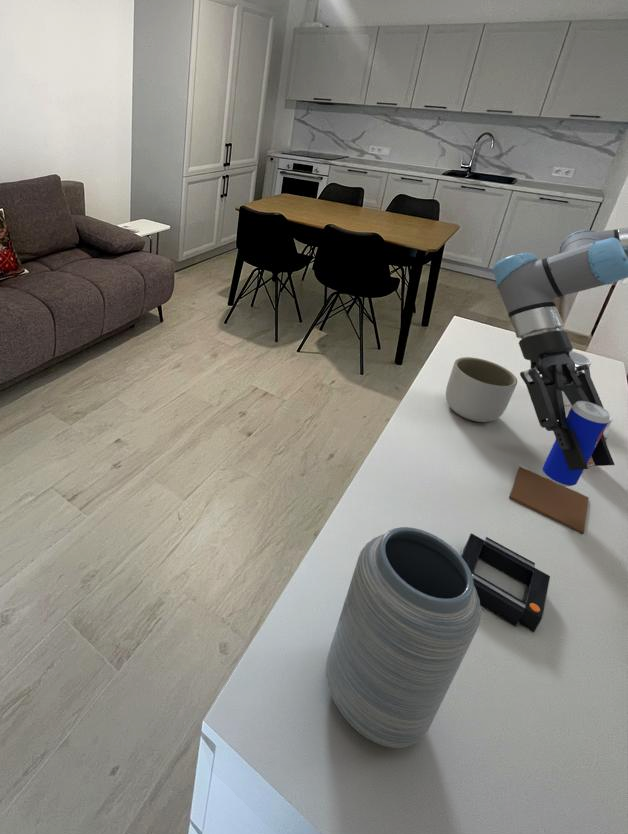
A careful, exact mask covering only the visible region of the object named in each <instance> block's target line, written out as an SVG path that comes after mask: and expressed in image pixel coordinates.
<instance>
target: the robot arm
mask: <svg viewBox="0 0 628 834" xmlns="http://www.w3.org/2000/svg"><path fill="white" fill-rule="evenodd" d="M492 271H493V275H494V278H495V282H496V288H497V289H498V292H499V294H500V297H501V299H502V302H503V304H504V307H505V309H506V312H507V316H508V318H509V320H510V323H511V325H512V328H513V330H514V331H513V332H514V333H515V336H516V338H517V339H520V340H519V341H518V346H519V349H520V351H521V354H522V357H523V359H524V360H527V361H529V362H530V367H529V369H527V370H524V371H523V370H522V371H521V372H520V373H519V376H520V378H521V379H522V381H523V382H524V384H525V385H526V389H527V391H528V394H529V397H530V400H531V403H532V406H533V409H534V411H535V415H536V417H537V420H538V424H539V426H540V427H541V428H543V429H545V430H546V431H547V432H553V434H554V436H555V440H557V442H558V445H559V447H560V449H561V450H562V451H563V454H564V457H565V459H566V462H567V465H568V468H569V470H583V471H584V470H589V466H587V464H586V461H585V459H584V456H583V453H582V451H581V448H580V446H579V443H578V440H577V438H576V435H575V432H574V430H573V429H567V428H568V424H567V419H566V418H567V415H566V408H565V407H566V406H565V405H564V402H563V396H562V391H563V392H564V393H565V395H566V397H567V398H568V400H569V402H570V403H571V404H570V405H571V407H572V406H573V405H574V404H575V403H576V402H577V401H586V402H590V403H593V404H596V405H598V406H600V407H602V408H604V409H605V407H604V405H603V402H602V400H601V398H600V396H599V393H598V391H597V389H596V386H595V384H594V382H593V380H592V377H591V370H590V367H589V366H588V365H586V364H585V365H581V366H580V365H577V364H575V363H574V361H573V360H572V359H571V357H570V356H569V353H570V352H571V351H574V347H573V345H572V342H571V340H570V337H569V335H568V332H566V331H564V328H565V324H564V321H563V319H562V317H561V314H560V313H559V310H558V308H557V305H556V303H555V300H554V299H557V298H560V297H564V296H568V295H571V294H576V293H580V292H583V291H586V290H590V289H594V288H595V289H596V288H599V287H601V286H607V285H609V286H610V285H612V284H614V283H616V282H619V281H622V280H625V279H628V227H623V228H617V229H607V230H600V231H595V230H590V229H582V230H581V229H580V230H577V231H575V232H572V233H571V234H569V235H568V236H566V238H565V239H564V240H563V242H562V243H561V244H560V247H559V251H558V254H555V255H552V256H548V257H546V258H540V259H539V258H537V256H536V254H534V253H533V252H522V253H518V254H512V255H509V256H507V257H504V258H502V259H500V260H499V261H497V262H496V263H494V265H493V267H492ZM591 456H592V459H593V461H594V463H593V465H594V466H595V467H606V466H615V465H616V464H615V462H614V459H613V457H612V454H611V452H610V449H609V446H608V444H607V439H605V436H604V435H603V434H602V436H601V438H600V440H599V442H598V444H597V446H596V448H595V449H594V451H593V453H592V455H591Z"/></svg>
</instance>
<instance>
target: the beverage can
mask: <svg viewBox="0 0 628 834" xmlns="http://www.w3.org/2000/svg"><path fill="white" fill-rule="evenodd" d="M610 415H611V414H610V412H609V411H608V410H607V409H605V407H604V408H602V407H600V406H598V405H596V404H593V403H590V402H586V401H577V402H576V403H575V404H574V405H573V406H572V405H571V407H570V409H569V411H568V413H567V415H566V419H567V424H568V428H567V429H573V430H574V432H575V435H576V438H577V440H578V443H579V446H580V448H581V451H582V453H583V456H584V459H585V461H586V464H587V463H588V461H589V459H590V457H591V455H592V453H593V451H594V449H595V448H596V446H597V444H598V442H599V440H600V438H601V436H602V434H603V432H604V430H605V429H606V427H607V425H608V423H609V419H610ZM542 472H543V474H544V476H545V478H547V479H549V480H551V481H553V482H555V483H557V484H559V485H562V486H565V487H573V486H576V485H577V484H578V482H579V480H580V478H581V476H582V475H583V472H584V470H569V468H568V465H567V462H566V459H565V457H564V454H563V451H562V450H561V449H560V447H559V445H558V442H557V440H556V439H555V440H554V443H553V445H552V446H551V449H550V451H549V453H548V455H547V457H546V459H545V461H544V463H543V465H542Z"/></svg>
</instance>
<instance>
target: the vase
mask: <svg viewBox="0 0 628 834" xmlns="http://www.w3.org/2000/svg"><path fill="white" fill-rule="evenodd" d="M481 616H482V609H481V605H480V600H479V597H478V594H477V591H476V588H475V586H474V583H473V577H472V574H471V571H470V569H469V567H468V565H467V564H466V562H465V561H464V559H463V558H462V557H461V554H460V553H459V552H458V551H457V550H456V549H455V548H453V547H452V545H450V544H449V543H448V542H446V541H445V540H443V539H442V538H440V537H438V536H437V535H434V534H433V533H431V532H428V531H426V530H423V529H420V528H415V527H408V526H400V527H395V528H392V529H390V530H388V531H387V532H386V533H383V534H381V535H378V536H376V537H373V538H372V539H370V540H369V541H368V542H367V543H366V544H365V545H364V547H363V548H362V549H361V550H360V552H359V555H358V558H357V561H356V565H355V567H354V570H353V574H352V576H351V579H350V583H349V586H348V590H347V593H346V596H345V599H344V602H343V606H342V608H341V612H340V615H339V618H338V621H337V625H336V629H335V631H334V634H333V638H332V641H331V644H330V647H329V650H328V653H327V657H326V664H325V676H326V681H327V686H328V689H329V692H330V695H331V698H332V700H333V702H334V704H335V706H336V707H337V709H338V711H339V712H340V714H341V715H342V717H343V718H344V719H345V720H346V722H347V723H348V724H349V725H350V726H351V727H352V728H353V729H354V730H356V732H357V733H358V734H359V735H361V736H363V737H364V738H365V739H367V740H369V741H371V742H373V743H375V744H377V745H380V746H383V747H386V748H394V749H402V748H407V747H411V746H414V745H416V744H417V743H418V742H420V741H421V740H423V738H424V737H425V736H426V734H427V733H428V732H429V730H430V728H431V726H432V724H433V721H434V720H435V718H436V715H437V713H438V711H439V709H440V708H441V705H442V703H443V701H444V700H445V697H446V695H447V693H448V690H449V689H450V686H451V685H452V683H453V680H454V679H455V676H456V674H457V672H458V670H459V668H460V667H461V664H462V662H463V660H464V658H465V655H466V654H467V652H468V650H469V648H470V646H471V644H472V641H473V640H474V638H475V635H476V634H477V631H478V629H479V627H480V625H481Z"/></svg>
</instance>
